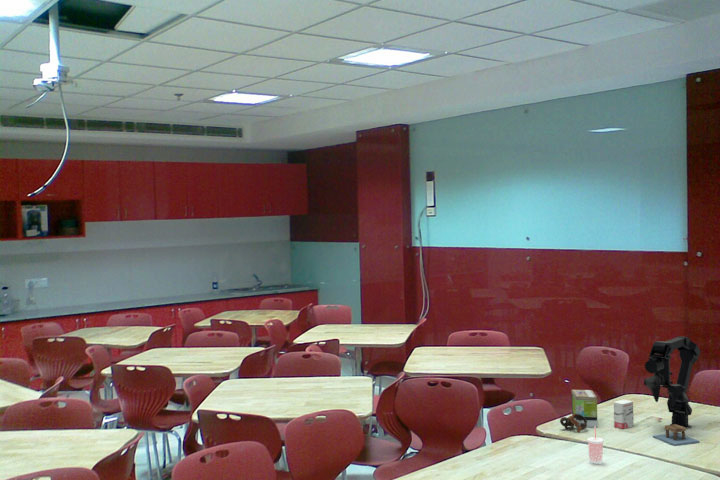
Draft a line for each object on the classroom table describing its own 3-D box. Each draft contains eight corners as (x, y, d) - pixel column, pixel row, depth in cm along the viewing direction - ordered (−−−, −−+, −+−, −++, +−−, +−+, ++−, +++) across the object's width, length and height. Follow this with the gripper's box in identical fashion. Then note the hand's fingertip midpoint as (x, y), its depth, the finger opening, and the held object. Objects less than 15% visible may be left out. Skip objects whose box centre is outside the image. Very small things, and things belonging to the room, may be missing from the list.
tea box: (598, 428, 307) (597, 396, 307) (575, 427, 309) (575, 396, 309) (592, 419, 322) (592, 389, 322) (571, 418, 324) (570, 388, 324)
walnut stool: (676, 435, 290) (675, 424, 290) (686, 439, 284) (686, 427, 284) (664, 437, 288) (664, 425, 288) (675, 440, 283) (674, 429, 283)
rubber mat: (677, 434, 294) (676, 432, 294) (699, 442, 282) (699, 440, 282) (652, 437, 291) (652, 435, 291) (674, 446, 278) (674, 444, 278)
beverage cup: (591, 458, 265) (590, 423, 265) (606, 461, 262) (605, 426, 262) (585, 462, 261) (584, 427, 261) (601, 465, 257) (600, 429, 257)
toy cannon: (578, 426, 312) (585, 413, 308) (584, 441, 303) (591, 427, 300) (554, 421, 310) (561, 408, 307) (560, 435, 302) (567, 422, 298)
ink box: (622, 429, 304) (622, 403, 304) (613, 427, 308) (612, 401, 308) (634, 426, 309) (633, 401, 309) (625, 423, 313) (624, 399, 313)
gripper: (633, 367, 304) (635, 401, 304) (664, 375, 286) (665, 411, 287) (653, 365, 308) (654, 398, 308) (684, 372, 290) (685, 408, 290)
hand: (664, 404), depth 298 cm, fingers open, 9 cm apart
